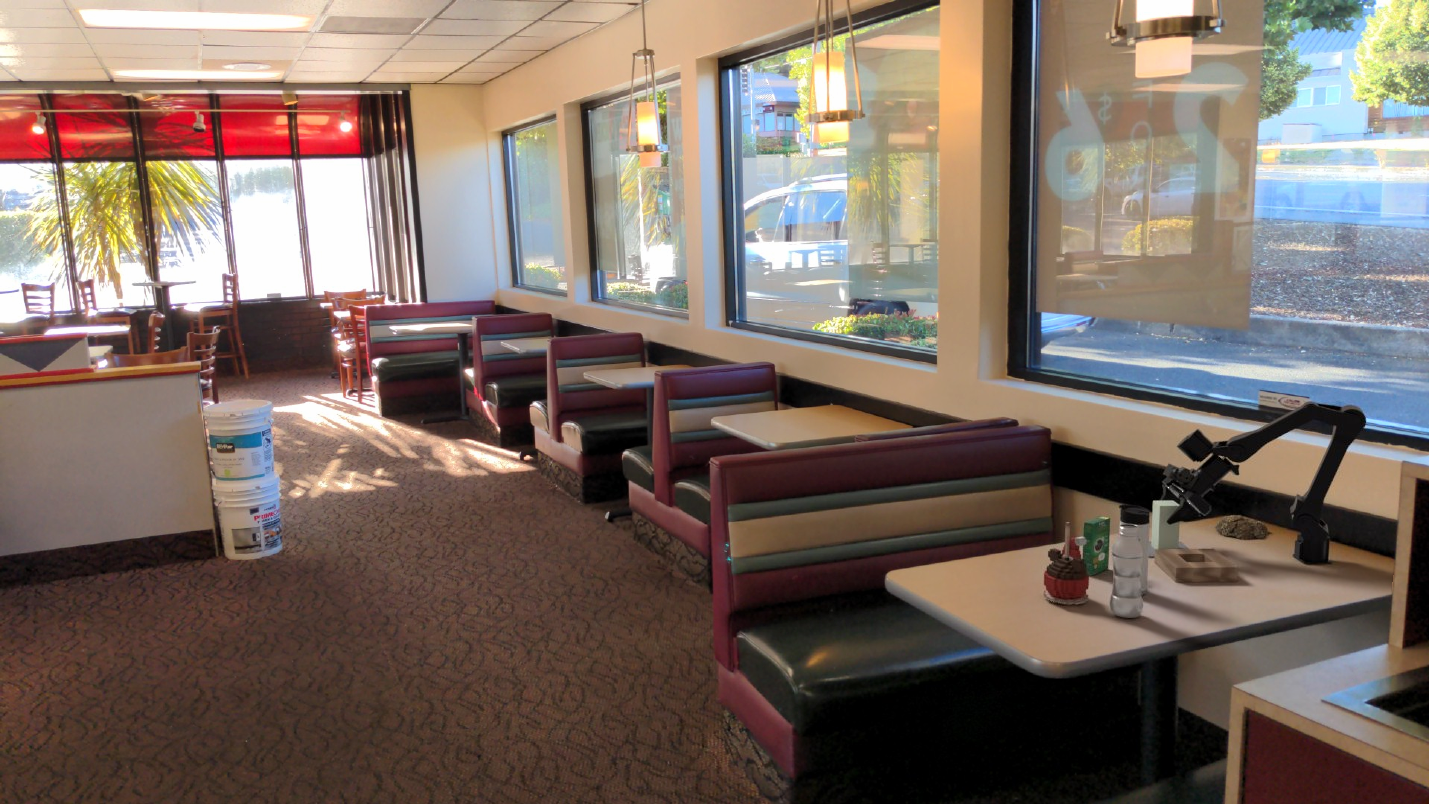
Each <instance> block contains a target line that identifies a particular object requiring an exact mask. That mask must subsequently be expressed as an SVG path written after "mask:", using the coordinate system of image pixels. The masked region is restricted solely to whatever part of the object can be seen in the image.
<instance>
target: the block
mask: <svg viewBox="0 0 1429 804" xmlns="http://www.w3.org/2000/svg"><path fill="white" fill-rule="evenodd" d="M1179 506H1180V503H1179V504H1177V503H1176V502H1175V501H1160V500H1153V501H1152V515H1151V516H1152V517H1151V518H1152V522H1151V541H1150V542H1151V546H1152V547H1153V548H1154V549H1178V548H1179V541H1180V527H1181V526H1180V525H1181V524H1180V522H1181V521H1180V522H1177V523H1174V524H1171V525H1169V524H1168V523H1167V522H1166V521H1167V520H1168V519H1169V517H1170V516H1171V515H1172V514H1173V513H1174V511H1175V510H1176V509H1177V508H1178V507H1179Z"/></svg>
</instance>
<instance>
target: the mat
mask: <svg viewBox="0 0 1429 804" xmlns="http://www.w3.org/2000/svg"><path fill="white" fill-rule="evenodd" d="M1178 549H1190V548H1189V547H1188V546H1187V545H1185V544H1184V543H1183V542H1182V541H1180V540H1179V548H1178ZM1150 558H1151V559H1152V558H1154V559H1155V549H1154V548H1153V547H1152V546H1151V541H1149V553H1148V559H1150Z"/></svg>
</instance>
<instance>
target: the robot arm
mask: <svg viewBox="0 0 1429 804" xmlns="http://www.w3.org/2000/svg"><path fill="white" fill-rule="evenodd" d="M1311 421H1315V422H1320V423H1322V424H1323V423H1324V424H1325V425H1330V426H1333V428H1332V433H1331V440H1329V444H1328V445H1327V448H1326V450H1325V452H1324V454H1323V457H1322V459H1321V461H1320V462H1319V463H1320V464H1319V465H1318V467H1317V470H1316V472H1315V474H1314V476H1313V479H1312V481H1311V483H1310V484H1309V487H1308V489H1307V491H1306V492H1305V493H1304V494H1303V495H1300V494H1298V493H1297V494H1296V495H1295V500H1294V503H1293V504H1292V505H1291V506H1290V507H1289V508H1290V509H1289V510H1290V515H1291V520H1292V525H1293V527H1294V528H1295V529H1296V530H1297V531H1299V532H1300V533H1297V535H1296V539H1295V541H1294V550H1293V554H1292V557H1293V558H1295V559H1297V561H1300V562H1301V563H1303V564H1306V565H1308V564H1310V565H1313V564H1314V565H1318V564H1319V565H1321V564H1323V565H1325V564H1329V565H1330V564H1331V565H1332V564H1333V561H1332V560H1330V559H1329V557H1330V555H1329V554H1330V544H1331V543H1330V542H1331V537H1330V536H1329V535H1330V533H1329V528H1328V527H1329V526H1328V524H1327V523H1326V522H1325V521H1324V520H1323V519H1322V518H1321V517H1322V513H1323V507H1324V503H1325V499H1326V496H1327V494H1328V492H1329V490H1330V487H1331V485H1332V483H1333V481H1334V479H1335V477H1336V475H1337V472H1338V470H1339V468H1340V467H1341V464H1342V462H1343V459H1344V457H1345V456H1346V453H1347V451H1348V449H1349V447H1350V446H1351V445H1352V444H1353V442H1354V441H1355V440H1356V439H1357V438H1358V437H1359V435H1360V434H1361V432H1362V431H1363V430H1364V428H1365V427H1366V424H1367V417H1366V415H1365V413H1364V411H1363V410H1362V408H1361V407H1359V406H1357V405H1356V404H1355V405H1354V404H1346V405H1344V406H1340V405H1335V404H1327V403H1318V402H1315V401H1312V400H1311V401H1306V402H1304V403H1303V404H1302V405H1301V406H1299V407H1297V408H1295V409H1293V410H1291V411H1289V412H1288V413H1285V414H1284V415H1281V416H1280V417H1278V418H1276V419H1274V420H1272V421H1270V422H1269V423H1267V424H1265V425H1263V426H1261V427H1259V428H1257V429H1254V430H1249V431H1246V432H1244V433H1240V434H1237V435H1235V436H1232V437H1230V438H1229V439H1228V440H1221V441H1213V442H1212V441H1211V440H1210V439H1209V438H1208V437H1207V436H1206V435H1205V434H1204V433H1203V432H1202V430H1200V428H1196V429H1195V430H1194V431H1192V432H1191V433H1190V434H1188V435H1186V436H1185V437H1184V438H1183V439H1181V441H1179V443H1178V444H1177V445H1176V448H1177V449H1179V451H1181V452H1182V453H1183V454H1184V455H1185V456H1186V457H1187V458H1188V459H1189V460H1191V462H1193V463H1195V462H1197V463H1202V464H1200V466H1198V468H1196V469H1195V468H1190V469H1189V468H1186V467H1185V466H1181V467H1178V466H1177V465H1173V464H1171V463H1167V466H1166V467H1165V469H1164V471H1163V473H1162V475H1163V476H1166V477H1165V478H1164V479H1163V480H1162V481H1161V482H1162V484H1161V485H1162V492H1163V493H1162V495H1161V497H1160V499H1159V501H1175V502H1176V503H1177V504H1179V505H1180V506H1179V507H1178V508H1177V509H1176V510H1175V511H1174V513H1173V514H1172V515H1171V516H1170V517H1169V519H1168V520H1167V521H1166V522H1167V523H1168V524H1169V525H1171V524H1174V523H1177V522H1183V521H1186V520H1189V519H1192V518H1197V517H1202V516H1207V515H1208V514H1210V512H1212V505H1211V504H1210V503H1209V502H1208V501H1207V500H1206V499H1205V498H1204V496H1205V495H1206V494H1207V493H1209V491H1212V492H1214V491H1216V489H1217V487H1216V485H1217V484H1219V482H1220V481H1221V480H1222V479H1224V478H1225V476H1227V475H1228V474H1230V473H1231V474H1233V475H1234V476H1239V475H1240V464H1241V463H1244V462H1246V461H1248V460H1249V459H1250V458H1251V457H1252V456H1253V455H1255V454H1256V453H1257V452H1258V451H1260V450H1261V449H1262V448H1263V447H1265V446H1266V445H1267V444H1269V443H1271V442H1273V441H1274V440H1276V439H1279V438H1281V437H1282V436H1284V435H1286V434H1288V433H1289V432H1292V431H1294V430H1296V429H1297V428H1299V427H1301V426H1303V425H1305V424H1306V423H1308V422H1311ZM1208 457H1209V458H1208ZM1203 461H1204V462H1203ZM1234 463H1236V464H1234Z"/></svg>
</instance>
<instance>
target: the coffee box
mask: <svg viewBox="0 0 1429 804" xmlns="http://www.w3.org/2000/svg"><path fill="white" fill-rule="evenodd" d="M1082 530H1083V534H1082V537H1085V539H1086V544H1085V545H1082V554H1081V559H1084V562H1085V563H1086V570H1087V574H1088V575H1090V576H1093V575H1094V576H1095V575H1097V574H1098V573H1099V574H1100V573H1101V572H1105V571H1106V570H1109V562H1110V561H1109V559H1110V558H1109V557H1110V535H1111V534H1110V531H1111V517H1108V516H1102V515H1101V516H1097V517H1094V518H1092V519H1089V520H1085V521H1083V529H1082ZM1090 576H1089V577H1090Z"/></svg>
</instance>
